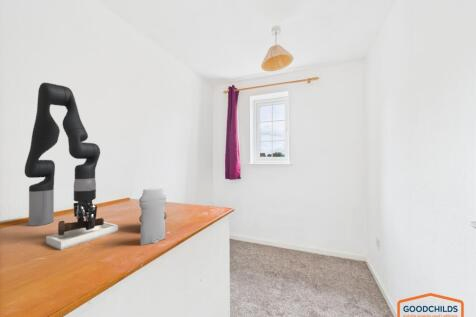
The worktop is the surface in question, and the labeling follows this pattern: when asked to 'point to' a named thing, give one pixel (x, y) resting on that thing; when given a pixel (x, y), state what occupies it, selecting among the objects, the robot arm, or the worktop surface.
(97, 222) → the bolt
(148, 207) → the tall pale column
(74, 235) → the parts tray
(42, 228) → the worktop surface
